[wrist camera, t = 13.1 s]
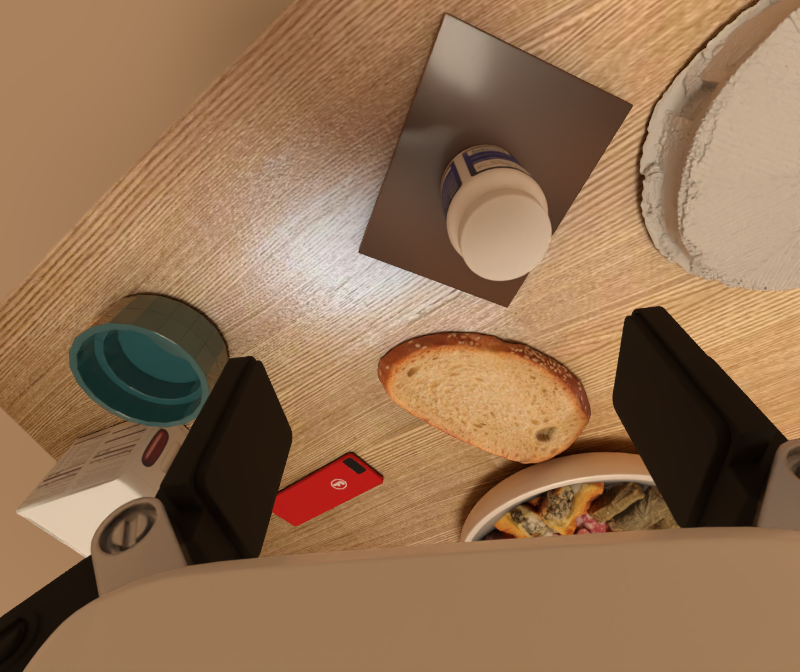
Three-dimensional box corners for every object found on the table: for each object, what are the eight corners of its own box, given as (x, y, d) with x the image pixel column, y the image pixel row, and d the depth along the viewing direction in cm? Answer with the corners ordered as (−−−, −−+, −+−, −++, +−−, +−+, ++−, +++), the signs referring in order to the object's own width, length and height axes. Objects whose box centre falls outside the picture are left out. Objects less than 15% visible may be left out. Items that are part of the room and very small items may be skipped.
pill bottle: (475, 241, 33) (495, 309, 25) (422, 186, 31) (425, 240, 22) (539, 186, 30) (585, 241, 22) (487, 122, 28) (517, 157, 20)
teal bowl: (105, 274, 37) (65, 304, 33) (238, 317, 39) (217, 351, 35) (105, 370, 43) (71, 406, 38) (220, 403, 45) (200, 440, 41)
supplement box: (260, 498, 54) (234, 575, 46) (176, 521, 57) (139, 597, 49) (166, 404, 45) (115, 480, 37) (74, 438, 48) (10, 515, 41)
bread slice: (365, 352, 40) (361, 378, 37) (562, 290, 36) (576, 314, 33) (431, 470, 50) (432, 499, 47) (594, 432, 45) (607, 461, 42)
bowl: (692, 399, 42) (742, 465, 36) (722, 552, 57) (761, 618, 51) (415, 483, 51) (416, 548, 44) (504, 597, 66) (513, 658, 59)
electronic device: (296, 523, 56) (385, 478, 50) (295, 527, 56) (384, 482, 50) (261, 501, 54) (350, 451, 48) (260, 505, 53) (350, 455, 48)
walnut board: (444, 12, 26) (445, 11, 25) (626, 103, 28) (633, 105, 27) (359, 246, 35) (358, 252, 34) (505, 301, 37) (507, 308, 36)
